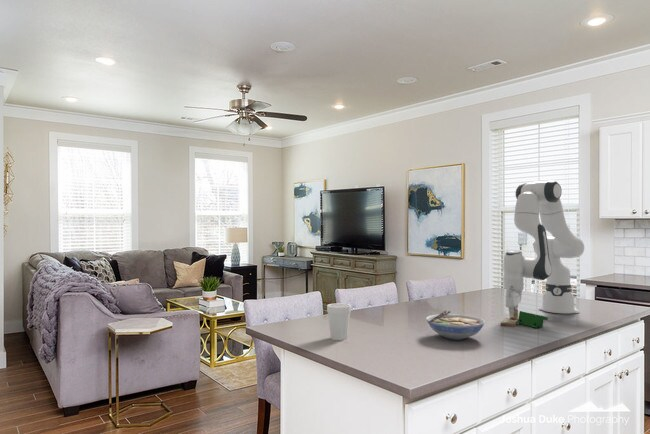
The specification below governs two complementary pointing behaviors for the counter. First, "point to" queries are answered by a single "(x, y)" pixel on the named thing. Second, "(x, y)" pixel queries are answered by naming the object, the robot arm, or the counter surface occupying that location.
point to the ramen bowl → (455, 325)
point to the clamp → (531, 319)
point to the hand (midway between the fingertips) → (513, 314)
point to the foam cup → (339, 320)
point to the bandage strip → (509, 322)
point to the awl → (515, 314)
